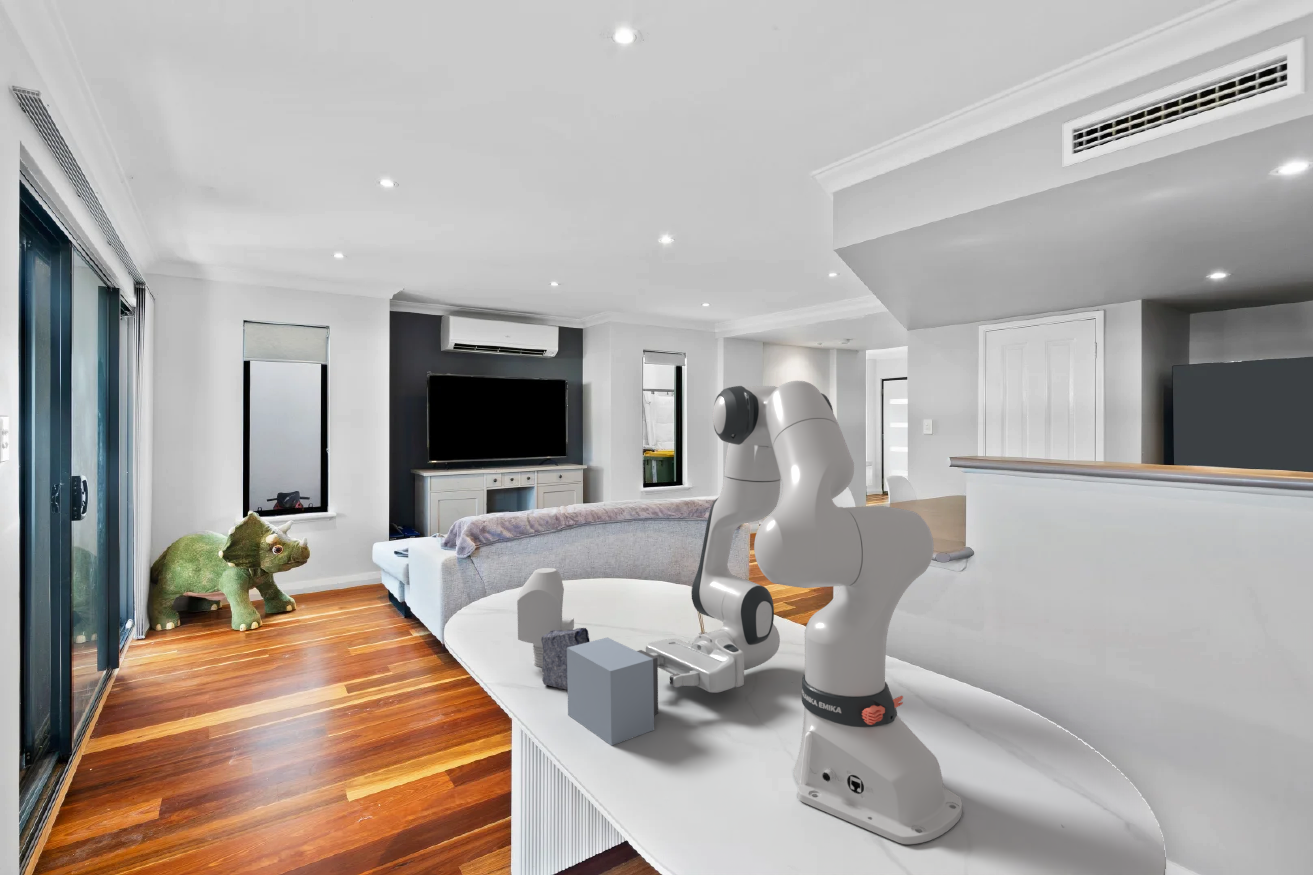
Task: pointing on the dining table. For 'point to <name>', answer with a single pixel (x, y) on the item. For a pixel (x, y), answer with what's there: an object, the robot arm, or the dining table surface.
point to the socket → (610, 689)
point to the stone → (559, 654)
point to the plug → (654, 679)
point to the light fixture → (541, 609)
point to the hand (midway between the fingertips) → (655, 673)
